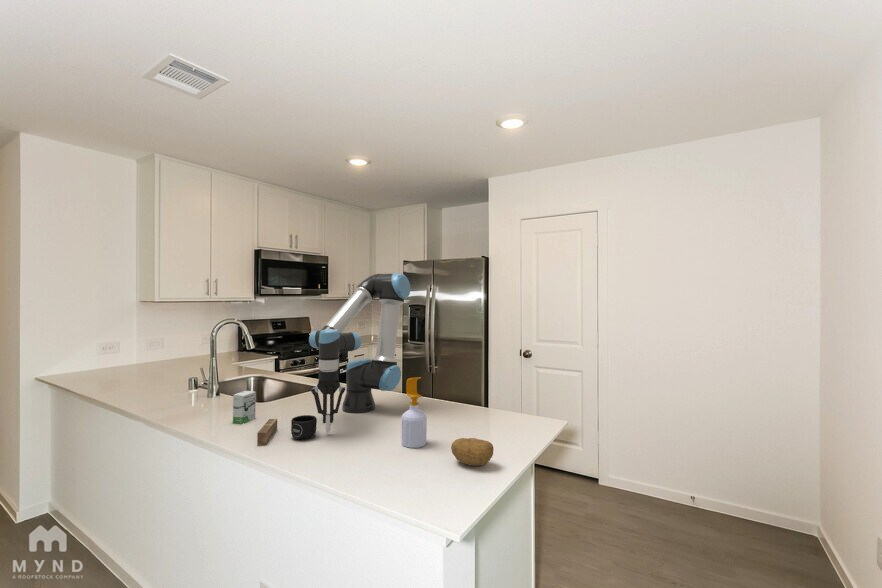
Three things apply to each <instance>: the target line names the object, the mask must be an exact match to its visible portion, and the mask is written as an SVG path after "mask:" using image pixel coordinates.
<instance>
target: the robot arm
mask: <svg viewBox="0 0 882 588" xmlns="http://www.w3.org/2000/svg"><path fill="white" fill-rule="evenodd" d="M410 293H411V284H410V281H409V278H408V277H407V276H406V275H405V274H403V273H395V272H394V273H376V274H372V275H370V276H368V277H366V278H365V279H364V280H362V281H361V282H360V283H359V284H358V285H357V286H356V287H355V288H354V290H353V294H352V295H351V296H350V297H349V298H347V300H346V301H345V303H344V304H342V306H341V307H340V308H339V309H338V310H337V311H336V312H335V314H334V315H333V316H332V317H331V318H330V319H329V320H328V322H326V323H325V325H324V326H323V327H322V328H321V329H320V330H318V329H317V330H314V331H312V332H311V333H310V335H309V337H308V343H309V345H310V346H311V347H312V348H314V349H318V370H319V371H318V381H317V382H318V383H316V386H315V387H313V388H311V391H310V392H311V394H312V395H313V398H314V401H315V402H314V403H315V405H316V410H317V414H321V415H322V423H323V424H325V433H327V434H328V433H330V432H331V426H332V425H331V424H333V423H334V416H335V414H338V412H339V409H340V405H341V402H342V399H343V395H344V392H345V395H344V399H343V402H342V406H341V407H342V411H343V412H346V413H350V414H351V413H352V414H361V413H367V412H371V411H373V410H375V409H376V403H375V400H374V399H375V398H374V396H373V392H372V390H379V391H382V392H386V391H387V392H392V391H393V390H394V389H396V388H397V387H398V385H399V383H400V381H401V378H402V371H401V368H400V366H398V361H397V359H396V358H395V355H396V347H397V338H398V337H397V336H398V329H399V319H400V310H401V306H402V305H404V303H405V299H407V298H409V296H410ZM375 299H378V301H379V303H380V304H381V310H380V318H379V324H378V325H379V326H378V334H377V342H376V350H375V356H374V357H373V358H361V359H353V360H349V361H348V362H347V363H346V372H345V374H346V377H345V378H346V385H345V386H343V385H341V383H340V370H339V369H340V353H346V352H347V353H348V352H353V351H357V350H359V349H360V347H361V345H362V338H361V335H360V334H359V333H358V332H354V331H353V332H351V331H350V332H344V331H345V329H346V328H347V327H348V326H349V325H350V323H352V321H353V320H354V319H355V317H356V316H358V314H359V313H360V312H361V310H362V309H363V308H364V307H365V306H366V305H367V304H370V303H371V302H372V301H373V300H375ZM319 391H320V393H321V394H322V404H321V401H320V396H319V393H318V392H319ZM337 391H338V392H339V394H338V396H337V397H338V398H337V400H336V401H337V402H336V405H335V404H334V403H335V393H336V392H337ZM328 395H329V413H328ZM334 406H335V407H334Z"/></svg>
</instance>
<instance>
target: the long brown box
mask: <svg viewBox="0 0 882 588" xmlns="http://www.w3.org/2000/svg"><path fill="white" fill-rule="evenodd" d="M277 431H278V418H269V419H268V420H267V421H266V422H265V423H264V424H263V425H262V427H261V428H260V429H259V430H258V431H257V434H256V435H257V436H256V438H257V441H256V443H257V446H267V444H268V443H269V442H270V440H271V439H272V438H273V437H274V435H276V432H277Z"/></svg>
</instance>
